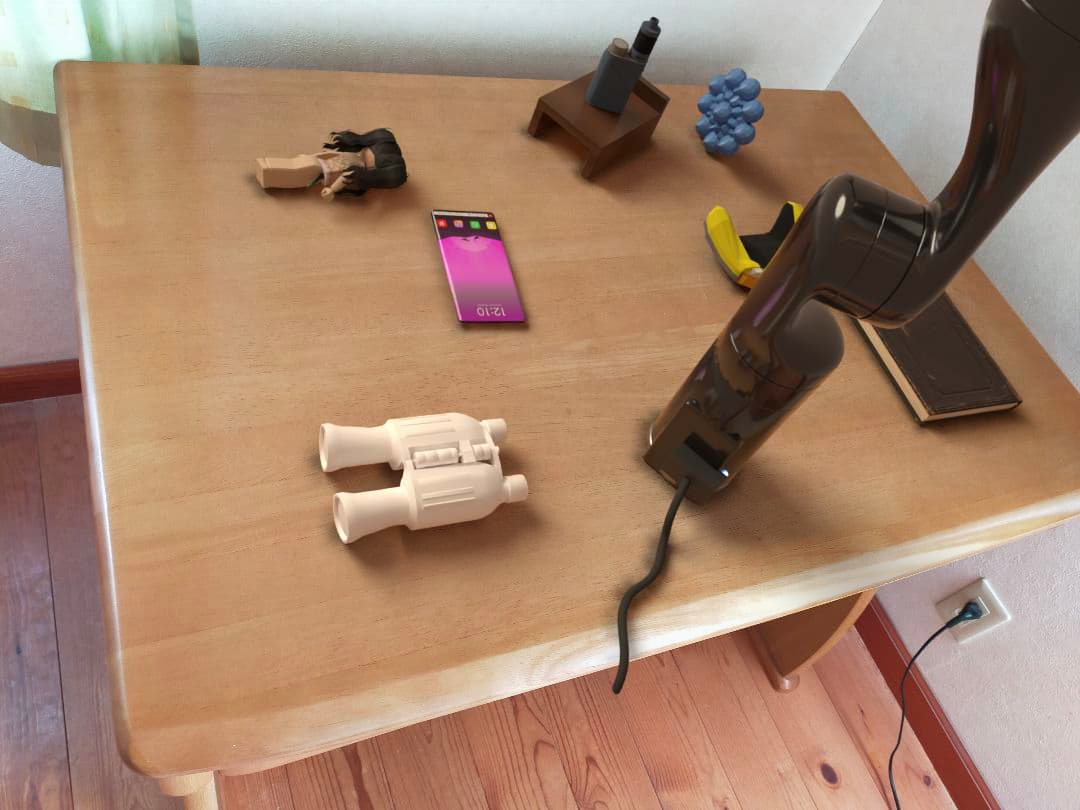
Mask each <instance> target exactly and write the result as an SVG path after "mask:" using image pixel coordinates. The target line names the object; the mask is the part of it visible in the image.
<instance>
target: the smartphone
mask: <svg viewBox="0 0 1080 810" xmlns="http://www.w3.org/2000/svg"><path fill="white" fill-rule="evenodd" d="M430 217H431V221H432V224H433V229H434V232H435V233H434V234H435V236H436V240H437V244H438V247H439V251H440V256H441V259H442V263H443V267H444V270H445V274H446V278H447V282H448V286H449V289H450V293H451V297H452V302H453V305H454V309H455V312H456V316H457V320H458V322H459V323H460V324H524V323H526V322H527V316H526V314H525V311H524V307H523V304H522V301H521V298H520V294H519V291H518V287H517V284H516V281H515V278H514V274H513V271H512V269H511V265H510V262H509V258H508V256H507V255H508V254H507V253H506V248H505V246H504V243H503V239H502V235H501V233H500V230H499V229H500V228H499V226H498V223H497V220H496V216H495V214H494V213H493V212H492V211H474V210H473V211H472V210H455V209H454V210H453V209H432V210H431V211H430Z"/></svg>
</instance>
